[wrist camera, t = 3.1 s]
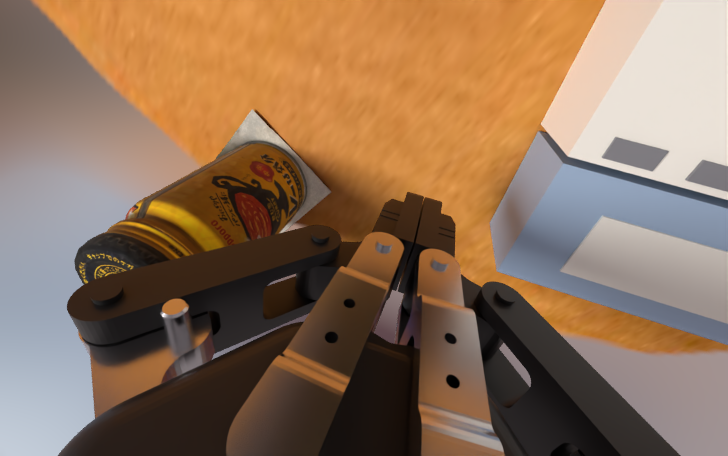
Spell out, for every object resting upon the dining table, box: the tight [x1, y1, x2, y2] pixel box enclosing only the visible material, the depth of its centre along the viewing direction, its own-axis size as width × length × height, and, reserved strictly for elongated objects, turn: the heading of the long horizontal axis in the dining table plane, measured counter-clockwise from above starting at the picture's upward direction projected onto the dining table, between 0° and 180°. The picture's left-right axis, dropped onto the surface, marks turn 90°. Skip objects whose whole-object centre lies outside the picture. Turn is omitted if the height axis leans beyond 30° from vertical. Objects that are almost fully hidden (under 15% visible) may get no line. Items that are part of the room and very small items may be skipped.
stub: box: [490, 131, 728, 345], centre depth 15 cm, size 6×16×5 cm, turn 79°
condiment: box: [75, 109, 331, 285], centre depth 18 cm, size 7×8×12 cm
